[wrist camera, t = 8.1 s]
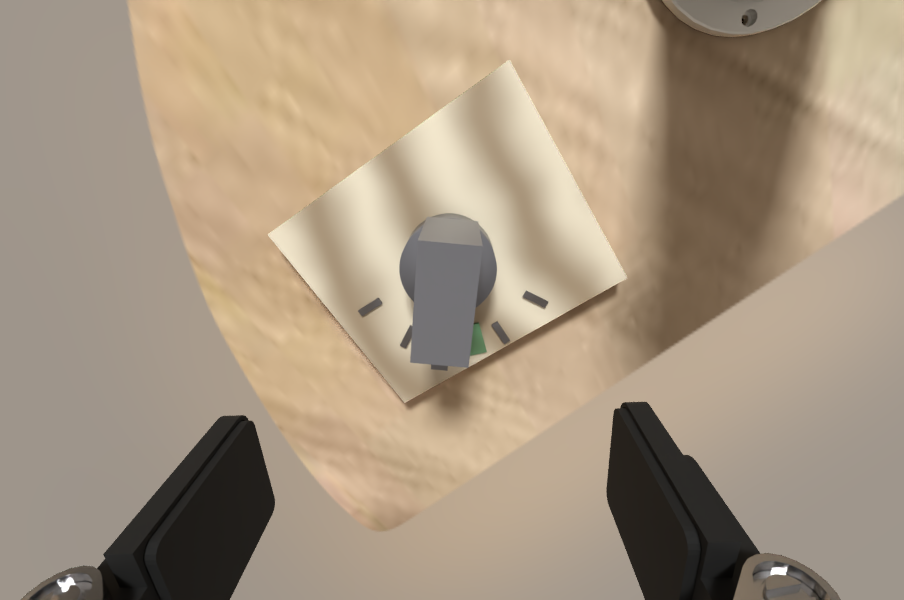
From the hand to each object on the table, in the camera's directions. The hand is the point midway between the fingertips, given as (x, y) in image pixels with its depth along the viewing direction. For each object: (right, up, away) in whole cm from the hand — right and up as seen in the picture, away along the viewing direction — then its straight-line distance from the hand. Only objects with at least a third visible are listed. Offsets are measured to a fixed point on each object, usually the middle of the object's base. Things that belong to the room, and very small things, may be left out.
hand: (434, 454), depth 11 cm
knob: (0, +5, +19) cm, 20 cm away
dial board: (0, +8, +20) cm, 22 cm away
